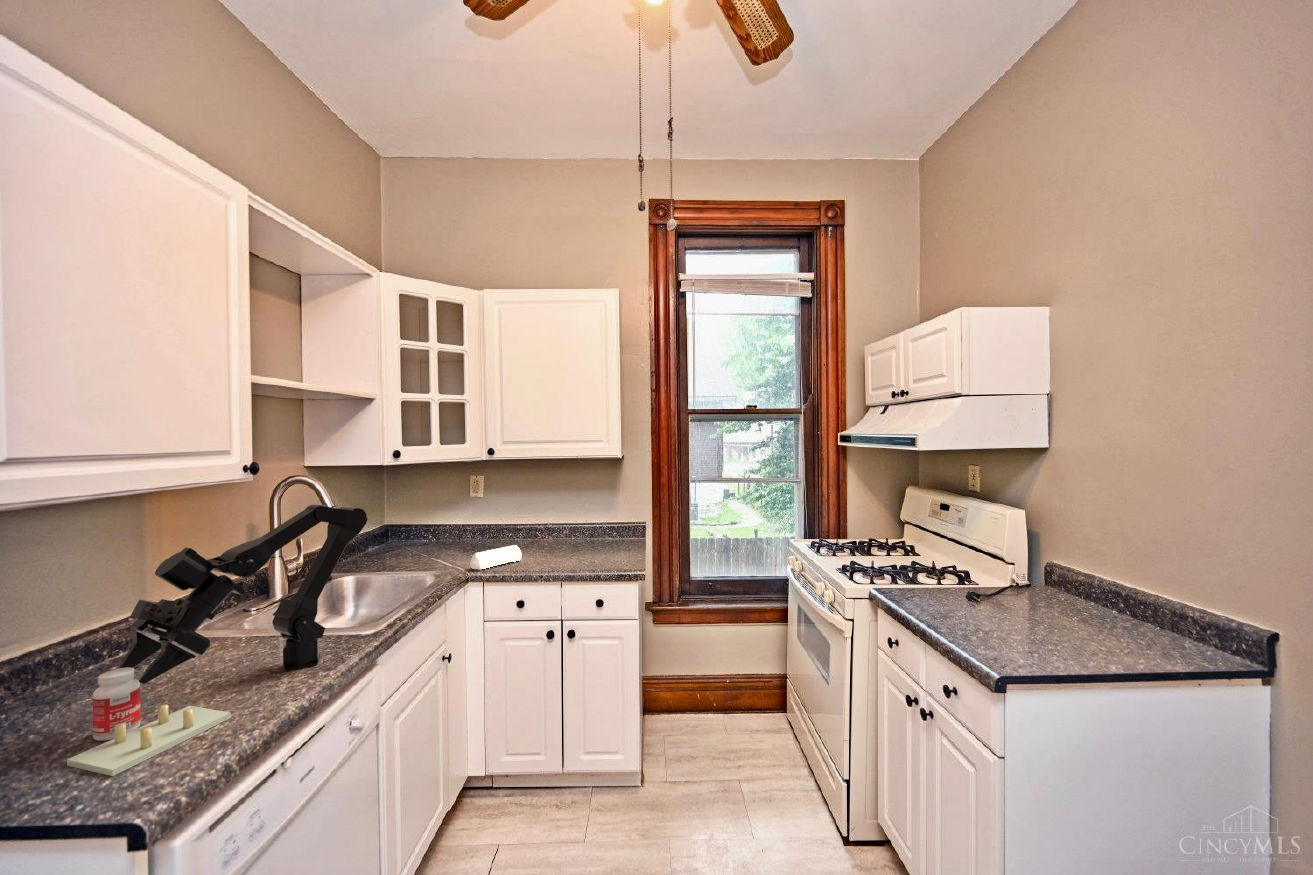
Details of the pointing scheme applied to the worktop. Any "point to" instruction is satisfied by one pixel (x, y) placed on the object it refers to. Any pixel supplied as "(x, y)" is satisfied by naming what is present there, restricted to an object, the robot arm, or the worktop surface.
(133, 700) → the pill bottle
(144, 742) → the standoff plate
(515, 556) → the white rounded log
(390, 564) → the worktop surface
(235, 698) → the worktop surface
